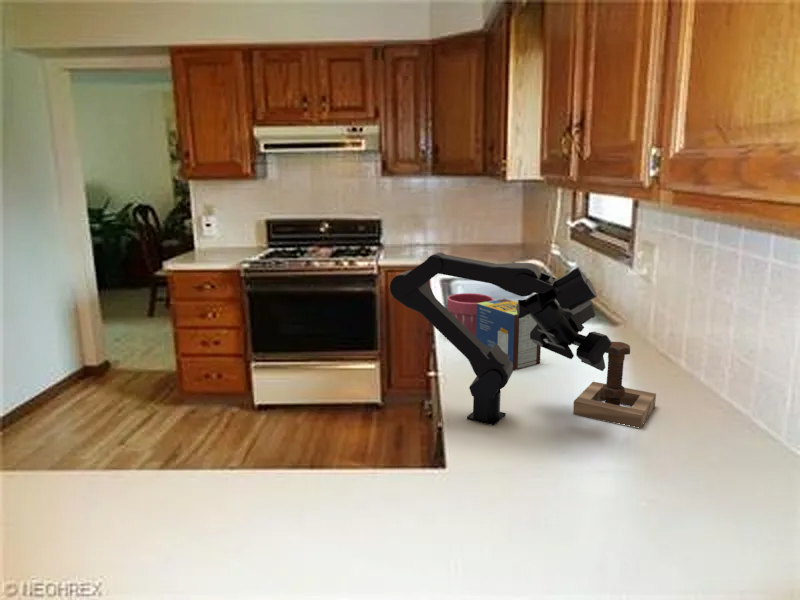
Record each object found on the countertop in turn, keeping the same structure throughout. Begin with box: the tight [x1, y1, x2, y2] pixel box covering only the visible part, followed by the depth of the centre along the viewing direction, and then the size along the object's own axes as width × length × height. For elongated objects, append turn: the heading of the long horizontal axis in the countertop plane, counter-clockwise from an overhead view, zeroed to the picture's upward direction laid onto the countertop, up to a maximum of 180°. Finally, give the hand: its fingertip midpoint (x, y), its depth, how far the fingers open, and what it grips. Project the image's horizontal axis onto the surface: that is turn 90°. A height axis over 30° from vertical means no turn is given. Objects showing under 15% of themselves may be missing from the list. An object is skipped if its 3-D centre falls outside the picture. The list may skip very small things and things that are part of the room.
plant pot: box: [446, 292, 495, 337], centre depth 187 cm, size 14×14×13 cm
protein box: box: [476, 298, 542, 372], centre depth 166 cm, size 10×15×16 cm
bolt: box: [603, 341, 631, 406], centre depth 132 cm, size 6×5×15 cm
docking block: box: [572, 381, 657, 429], centre depth 133 cm, size 14×14×3 cm
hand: (587, 363), depth 129 cm, fingers open, 9 cm apart
